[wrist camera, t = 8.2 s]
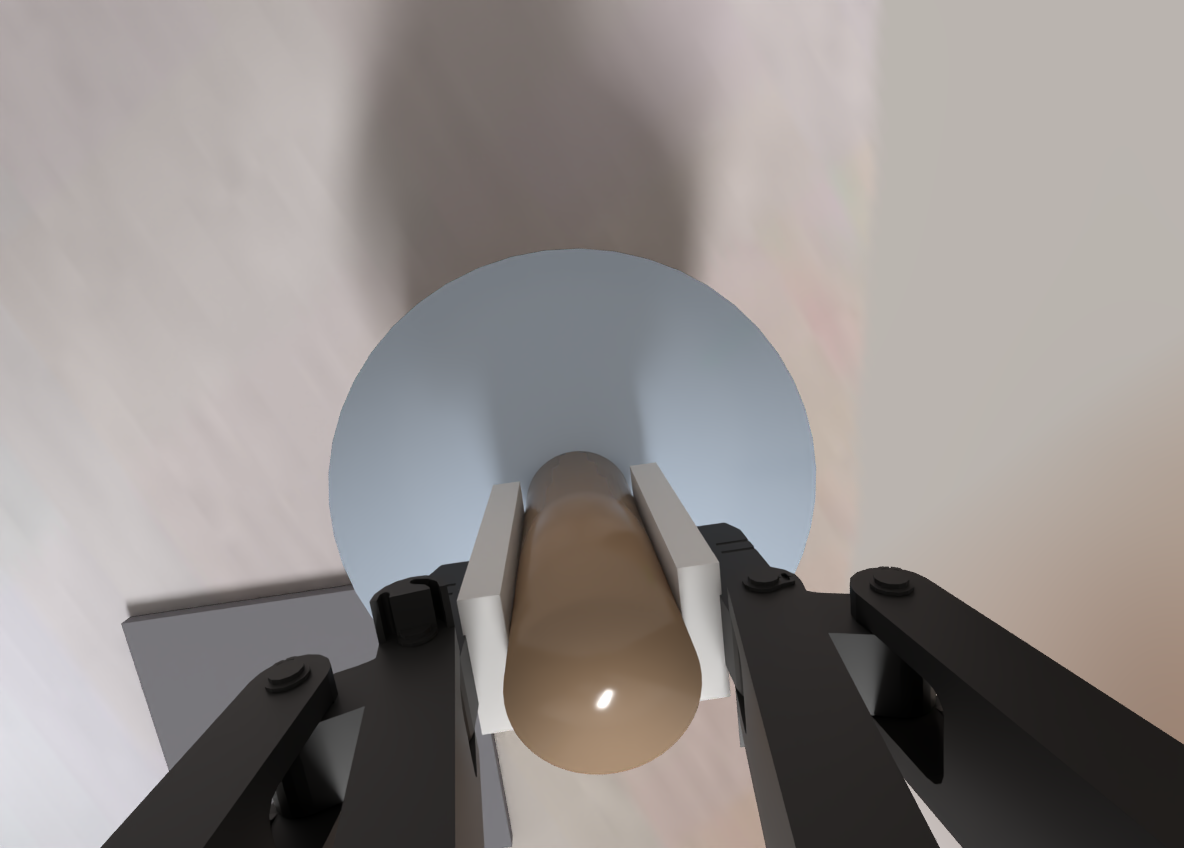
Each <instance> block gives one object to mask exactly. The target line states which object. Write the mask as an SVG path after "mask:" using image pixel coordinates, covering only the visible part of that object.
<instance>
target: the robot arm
mask: <svg viewBox="0 0 1184 848" xmlns="http://www.w3.org/2000/svg"><path fill="white" fill-rule="evenodd" d="M630 473H631V481H632V490H633V498H634V500H635V503H636V505H637V508H638V510H639V513H640V515H641V517H642V520H643V522H644V525H645V527H646V530H647V532H648V535H649V537H650V540H651V542H652V544H653V547H654V549H655V552H656V554H657V557H658V559H659V562H660V564H661V566H662V569H663V571H664V574H665V576H666V579H667V581H668V584H669V586H670V589H671V591H672V593H673V596H674V598H675V601H676V603H677V606H678V608H679V611H680V613H681V615H682V618H683V620H684V623H685V625H686V628H687V630H688V633H689V635H690V638H691V640H692V642H693V645H694V647H695V650H696V652H697V655H698V658H699V661H700V666H701V672H702V690H701V697H700V701H703V700H709V699H716V698H722V697H729V696H731V695H730V684H729V673H730V675H731V677H732V679H733V681H734V684H735V688H736V700H737V712H738V724H739V736H740V747H745V749H746V754H747V759H748V764H749V768H750V773H751V778H752V783H753V788H754V792H755V797H756V802H757V807H758V811H759V816H760V821H761V826H762V830H763V835H764V840H765V845H766V848H940V847H939V846H938V843H937V842H936V840H935V838H934V836H933V834H932V832H931V830H930V828H929V826H928V824H927V822H926V820H925V818H924V816H923V815H922V813H921V811H920V809H919V807H918V805H917V803H916V801H915V799H914V797H913V795H912V793H911V791H910V789H909V788H908V786H907V784H906V782H905V780H906V781H907V782H908V784H909V785H910V786H911V787H912V788H913V789H914V791H915V792H916V793H917V794H918V796H919V797H920V798H921V799H922V800H923V801H924V803H925V804H926V805H927V806H928V807H929V809H930V810H931V811H932V812H933V813H934V814H935V816H936V817H937V818H938V819H939V820H940V821H941V823H942V824H943V825H944V826H945V827H946V829H947V830H948V831H949V832H950V833H951V835H952V836H953V837H954V838H955V839H956V840H957V842H958V843H959V844H960V845H961V846H962V848H1184V744H1182V743H1181V742H1179V741H1177V740H1176V739H1174V738H1173V737H1171V736H1170V735H1168V734H1167V733H1165V732H1163V731H1162V730H1160V729H1159V728H1157V727H1156V726H1154V725H1153V724H1151V723H1150V722H1148V721H1147V720H1145V719H1143V718H1142V717H1140V716H1139V715H1137V714H1136V713H1134V712H1132V711H1131V710H1130V709H1128V708H1126V707H1125V706H1123V705H1122V704H1120V703H1119V702H1117V701H1116V700H1114V699H1113V698H1111V697H1109V696H1108V695H1106V694H1105V693H1103V692H1102V691H1100V690H1098V689H1097V688H1096V687H1094V686H1092V685H1091V684H1089V683H1088V682H1086V681H1085V680H1083V679H1081V678H1080V677H1078V676H1077V675H1075V674H1074V673H1072V672H1071V671H1069V670H1068V669H1066V668H1065V667H1063V666H1061V665H1060V664H1058V663H1057V662H1055V661H1054V660H1052V659H1051V658H1049V657H1048V656H1046V655H1044V654H1043V653H1041V652H1040V651H1038V650H1037V649H1035V648H1034V647H1032V646H1030V645H1029V644H1027V643H1026V642H1024V641H1023V640H1021V639H1020V638H1018V637H1017V636H1015V635H1014V634H1012V633H1010V632H1009V631H1007V630H1006V629H1004V628H1003V627H1001V626H1000V625H998V624H997V623H995V622H993V621H992V620H990V619H989V618H987V617H985V616H984V615H983V614H981V613H979V612H978V611H976V610H975V609H973V608H972V607H970V606H969V605H967V604H965V603H964V602H962V601H961V600H959V599H958V598H956V597H955V596H953V595H952V594H950V593H948V592H947V591H946V590H944V589H942V588H941V587H939V586H938V585H936V584H935V583H933V582H932V581H930V580H929V579H927V578H925V577H923V576H920V575H919V574H916V573H914V572H910V571H907V570H902V569H901V568H896V567H891V568H889V567H878V568H869V569H866V570H862V571H860V572H857V573H856V574H854V575H853V576H852V577H851V578H850V594H837V593H817V592H810V591H806V589H805V587H804V585H803V583H802V581H801V580H800V579H799V578H798V577H797V576H796V575H795V574H793V573H791V572H789V571H787V570H784V569H780V568H775V567H770V566H769V564H768V563H767V562H766V561H765V559H764V558H763V557H762V556H761V555H760V553H759V552H758V551H757V550H756V549H754V546H753V545H752V543H751V542H750V541H748V539H747V537H746V536H745V535H744V534H743V532H742V531H741V530H740V529H738V528H736V527H734V526H732V525H729V524H727V523H725V522H724V523H717V524H710V525H703V526H696V525H695V523H694V522H693V520H692V519H691V517H690V515H689V514H688V512H687V511H686V509H685V507H684V506H683V504H682V503H681V501H680V500H679V498H678V496H677V495H676V493H675V492H674V490H673V489H672V487H671V485H670V484H669V482H668V481H667V479H666V477H665V476H664V474H663V473H662V471H661V470H660V468H659V466H658V465H657V463H656V462H655V463H647V464H640V465H633V466H630ZM524 516H525V511H524V505H523V498H522V492H521V486H520V481H519V482H511V483H504V484H497V485H493V487H492V490H491V493H490V497H489V500H488V503H487V506H486V509H485V512H484V516H483V519H482V522H481V525H480V528H479V532H478V535H477V538H476V541H475V544H474V547H473V551H472V554H471V557H470V560H469V561H465V562H458V563H451V564H444V565H441V566H439V567H438V568H437V569H436V570H435V571H434V572H432V573H431V574H430V575H423V576H415V577H409V578H406V579H402V580H399V581H396V582H394V583H392V584H390V585H387V586H385V587H383V588H382V589H381V590H379V591H378V592H377V593H375V594H374V595H373V597H372V598H371V600H370V601H369V603H370V607H371V612H372V616H373V620H374V625H375V629H376V634H377V638H378V643H379V646H378V650H377V655H376V658H375V659H373V660H371V661H368V662H366V663H363V664H361V665H358V666H355V667H352V668H349V669H346V670H343V671H340V672H337V673H334V674H333V671H332V667H331V663H330V661H329V658H327V657H325V656H322V655H320V654H306V655H302V656H293V657H290V658H286V660H281V661H279V662H277V663H275V664H274V665H273V666H271V667H269V668H268V669H266V670H264V671H262V672H261V673H260V674H258V675H257V676H256V677H255V678H254V679H253V680H251V681H250V682H249V683H248V684H247V685H246V687H245V688H244V689H243V690H242V691H241V692H240V693H239V694H238V695H237V697H236V698H235V699H234V700H233V701H232V702H231V703H230V704H229V705H228V707H227V708H226V709H225V710H224V711H223V712H222V713H221V714H220V715H219V717H218V718H217V719H216V720H215V721H214V722H213V723H212V724H211V725H210V727H209V728H208V729H207V730H206V731H205V732H204V733H203V734H202V735H201V737H200V738H199V739H198V740H197V741H196V742H195V743H194V744H193V745H192V747H191V748H190V749H189V750H188V751H187V752H186V753H185V754H184V755H183V757H182V758H181V759H180V760H179V761H178V762H177V763H176V764H175V765H174V767H173V768H172V769H171V770H170V771H169V772H168V773H167V774H166V775H165V777H164V778H163V779H162V780H161V781H160V782H159V783H158V784H157V785H156V787H155V788H154V789H153V790H152V791H151V792H150V793H149V794H148V795H147V797H146V798H145V799H144V800H143V801H142V802H141V803H140V804H139V805H138V807H137V808H136V809H135V810H134V811H133V812H132V813H131V814H130V815H129V817H128V818H127V819H126V820H125V821H124V822H123V823H122V824H121V825H120V827H119V828H118V829H117V830H116V831H115V832H114V833H113V834H112V835H111V837H110V838H109V839H108V840H107V841H106V842H105V843H104V844H103V845H102V847H101V848H484V830H483V812H482V794H481V777H480V759H479V748H478V743H477V738H476V733H475V724H476V718H477V712H478V715H479V720H480V726H481V731H482V735H485V734H491V733H498V732H504V731H510V730H514V729H513V728H512V726H511V724H510V721H509V719H508V716H507V713H506V709H505V706H504V698H503V681H504V673H505V665H506V657H507V649H508V642H509V634H510V626H511V618H512V610H513V602H514V594H515V586H516V579H517V571H518V563H519V555H520V547H521V539H522V531H523V524H524ZM728 671H729V672H728ZM936 694H937V696H936ZM904 779H905V780H904ZM272 799H273V803H272ZM271 803H272V804H271Z"/></svg>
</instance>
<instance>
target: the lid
mask: <svg viewBox="0 0 1184 848" xmlns="http://www.w3.org/2000/svg"><path fill="white" fill-rule="evenodd" d="M655 462H656V463H657V465H658V466H659V468H660V470H661V471H662V473H663V474H664V476H665V477H666V479H667V481H668V482H669V484H670V485H671V487H672V489H673V490H674V492H675V493H676V495H677V496H678V498H679V500H680V501H681V503H682V504H683V506H684V507H685V509H686V511H687V512H688V514H689V515H690V517H691V519H692V520H693V522H694V523H695V525H696V526H703V525H710V524H717V523H724V522H725V523H727V524H729V525H732V526H734V527H736V528H738V529H740V530H741V531H742V532H743V534H744V535H745V536H746V537H747V539H748V541H750V542H751V543H752V545H753V546H754V549H756V550H757V551H758V552H759V553H760V555H761V556H762V557H763V558H764V559H765V561H766V562H767V563H768V564H769V566H770V567H775V568H780V569H784V570H787V571H789V572H791V573H793V574H794V573H795V571H796V569H797V566H798V564H799V562H800V560H801V557H802V555H803V552H804V548H805V545H806V541H807V538H808V535H809V531H810V528H811V522H812V516H813V509H814V503H815V490H816V463H815V455H814V446H813V438H812V434H811V430H810V426H809V422H808V418H807V414H806V410H805V407H804V405H803V402H802V400H801V397H800V395H799V392H798V390H797V387H796V385H795V382H794V380H793V378H792V376H791V375H790V373H789V371H788V370H787V368H786V366H785V364H784V363H783V361H782V359H781V357H780V356H779V354H778V352H777V351H776V350H775V349H774V347H773V346H772V345H771V344H770V342H769V341H768V340H767V338H766V337H765V336H764V335H763V333H762V332H761V331H760V329H759V328H758V327H757V326H756V325H755V324H754V323H753V322H752V321H751V320H750V319H749V318H748V317H746V316H745V315H744V314H743V313H742V312H741V311H740V310H739V309H738V308H737V307H736V306H735V305H734V304H732V303H731V302H730V301H728V300H727V299H725V298H724V297H723V296H721V295H720V294H719V293H717V292H716V291H715V290H713V289H712V288H710V287H709V286H707V285H705V284H704V283H702V282H700V281H698V280H696V279H694V278H692V277H691V276H689V275H687V274H685V273H683V272H681V271H679V270H677V269H674V268H671V267H669V266H666V265H663V264H660V263H658V262H655V261H652V260H650V259H647V258H642V257H637V256H633V255H628V254H624V253H619V252H615V251H604V250H592V249H562V250H544V251H539V252H534V253H529V254H524V255H519V256H513V257H509V258H506V259H503V260H500V261H497V262H495V263H492V264H489V265H486V266H483V267H480V268H477V269H475V270H473V271H471V272H469V273H467V274H465V275H463V276H461V277H459V278H457V279H455V280H453V281H451V282H449V283H447V284H446V285H444V286H443V287H441V288H440V289H438V290H437V291H435V292H434V293H432V294H431V295H430V296H428V297H427V298H425V299H424V300H422V301H421V302H419V303H418V304H417V305H416V306H415V307H414V308H412V309H411V310H410V311H409V312H408V313H407V314H406V315H405V316H404V317H403V318H402V319H400V320H399V321H398V322H397V323H396V324H395V325H394V326H393V327H392V328H391V329H390V330H389V332H388V333H387V334H386V335H385V337H384V338H383V339H382V340H381V341H380V343H379V344H378V345H377V346H376V347H375V349H374V350H373V351H372V352H371V354H370V356H369V357H368V359H367V360H366V362H365V364H364V365H363V367H362V369H361V370H360V372H359V373H358V375H357V377H356V378H355V380H354V382H353V384H352V387H351V389H350V391H349V394H348V396H347V398H346V401H345V403H344V405H343V407H342V410H341V413H340V416H339V420H338V424H337V428H336V431H335V435H334V439H333V442H332V450H331V459H330V467H329V507H330V513H331V519H332V526H333V532H334V537H335V540H336V543H337V547H338V550H339V553H340V556H341V560H342V563H343V566H344V568H345V570H346V572H347V574H348V577H349V579H350V581H351V583H352V585H353V587H354V590H355V592H356V593H357V595H358V597H359V598H360V600H361V601H362V603H363V604H364V606H365V607H366V609H367V611H368V612H369V614H370V615H371V617H372V618H373V616H372V612H371V607H370V603H369V601H370V600H371V598H372V597H373V595H374V594H375V593H377V592H378V591H379V590H381V589H382V588H383V587H385V586H387V585H390V584H392V583H394V582H396V581H399V580H402V579H406V578H409V577H415V576H423V575H430V574H431V573H432V572H434V571H435V570H436V569H437V568H438V567H439V566H441V565H444V564H451V563H458V562H465V561H469V560H470V557H471V554H472V551H473V547H474V544H475V541H476V538H477V535H478V532H479V528H480V525H481V522H482V519H483V516H484V512H485V509H486V506H487V503H488V500H489V497H490V493H491V490H492V487H493V485H497V484H504V483H511V482H519V481H520V486H521V492H522V498H523V505H524V511H525V516H524V524H523V531H522V539H521V547H520V555H519V563H518V571H517V579H516V586H515V594H514V602H513V610H512V618H511V626H510V634H509V642H508V649H507V657H506V665H505V673H504V681H503V698H504V706H505V709H506V713H507V716H508V719H509V721H510V724H511V726H512V728H513V729H514V731H515V733H516V734H517V736H518V737H519V738H520V740H521V741H522V742H523V743H524V744H525V745H526V746H527V747H528V748H529V749H530V750H531V751H532V752H533V753H534V754H536V755H537V756H539V757H540V758H542V759H543V760H545V761H547V762H548V763H550V764H552V765H554V766H557V767H560V768H562V769H565V770H569V771H573V772H577V773H584V774H611V773H618V772H623V771H627V770H630V769H633V768H636V767H639V766H641V765H644V764H646V763H648V762H650V761H652V760H653V759H655V758H657V757H658V756H660V755H662V754H663V753H664V752H665V751H667V750H668V749H669V748H670V747H672V746H673V745H674V744H675V743H676V742H677V741H678V740H679V739H680V737H681V736H682V735H683V733H684V732H685V731H686V730H687V728H688V726H689V725H690V723H691V721H692V720H693V718H694V715H695V713H696V711H697V708H698V705H699V701H700V697H701V690H702V672H701V666H700V661H699V658H698V655H697V652H696V650H695V647H694V645H693V642H692V640H691V638H690V635H689V633H688V630H687V628H686V625H685V623H684V620H683V618H682V615H681V613H680V611H679V608H678V606H677V603H676V601H675V598H674V596H673V593H672V591H671V589H670V586H669V584H668V581H667V579H666V576H665V574H664V571H663V569H662V566H661V564H660V562H659V559H658V557H657V554H656V552H655V549H654V547H653V544H652V542H651V540H650V537H649V535H648V532H647V530H646V527H645V525H644V522H643V520H642V517H641V515H640V513H639V510H638V508H637V505H636V503H635V500H634V498H633V490H632V481H631V473H630V466H633V465H640V464H647V463H655Z"/></svg>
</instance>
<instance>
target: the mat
mask: <svg viewBox="0 0 1184 848" xmlns="http://www.w3.org/2000/svg"><path fill="white" fill-rule="evenodd" d="M121 625H122V628H123V631H124V634H125V637H126V640H127V643H128V646H129V649H130V652H131V655H132V658H133V661H134V665H135V668H136V671H137V674H138V677H139V680H140V683H141V686H142V689H143V692H144V695H145V698H146V702H147V705H148V708H149V711H150V714H151V717H152V720H153V723H154V726H155V729H156V732H157V735H158V738H159V742H160V745H161V748H162V751H163V754H164V757H165V760H166V763H167V766H168V769H169V771H170V770H171V769H172V768H173V767H174V765H175V764H176V763H177V762H178V761H179V760H180V759H181V758H182V757H183V755H184V754H185V753H186V752H187V751H188V750H189V749H190V748H191V747H192V745H193V744H194V743H195V742H196V741H197V740H198V739H199V738H200V737H201V735H202V734H203V733H204V732H205V731H206V730H207V729H208V728H209V727H210V725H211V724H212V723H213V722H214V721H215V720H216V719H217V718H218V717H219V715H220V714H221V713H222V712H223V711H224V710H225V709H226V708H227V707H228V705H229V704H230V703H231V702H232V701H233V700H234V699H235V698H236V697H237V695H238V694H239V693H240V692H241V691H242V690H243V689H244V688H245V687H246V685H247V684H248V683H249V682H250V681H251V680H253V679H254V678H255V677H256V676H257V675H258V674H260V673H261V672H262V671H264V670H266V669H268V668H269V667H271V666H273V665H274V664H275V663H277V662H279V661H281V660H286V658H290V657H293V656H302V655H306V654H320V655H322V656H325V657H327V658H329V661H330V663H331V667H332V671H333V674H334V673H337V672H340V671H343V670H346V669H349V668H352V667H355V666H358V665H361V664H363V663H366V662H368V661H371V660H373V659H375V658H376V655H377V650H378V646H379V643H378V638H377V634H376V629H375V625H374V620H373V618H372V617H371V615H370V614H369V612H368V611H367V609H366V607H365V606H364V604H363V603H362V601H361V600H360V598H359V597H358V595H357V593H356V592H355V590H354V587H353V585H347V586H340V587H333V588H326V589H320V590H313V591H306V592H299V593H292V594H285V595H279V596H272V597H265V598H258V599H251V600H244V601H237V602H231V603H224V604H217V605H210V606H203V607H196V608H190V609H183V610H176V611H169V612H162V613H155V614H148V615H142V616H135V617H130V618H128V619H127V620H126V621H124V622H123V623H122V624H121ZM475 733H476V738H477V743H478V748H479V759H480V777H481V794H482V812H483V830H484V848H505V847H512V838H513V836H512V831H511V825H510V820H509V815H508V809H507V804H506V798H505V793H504V788H503V782H502V777H501V771H500V766H499V761H498V755H497V750H496V744H495V739H494V734H493V733H491V734H485V735H482V731H481V726H480V720H479V715H478V712H477V718H476V724H475ZM272 803H273V799H272ZM272 803H271V804H272Z"/></svg>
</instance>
